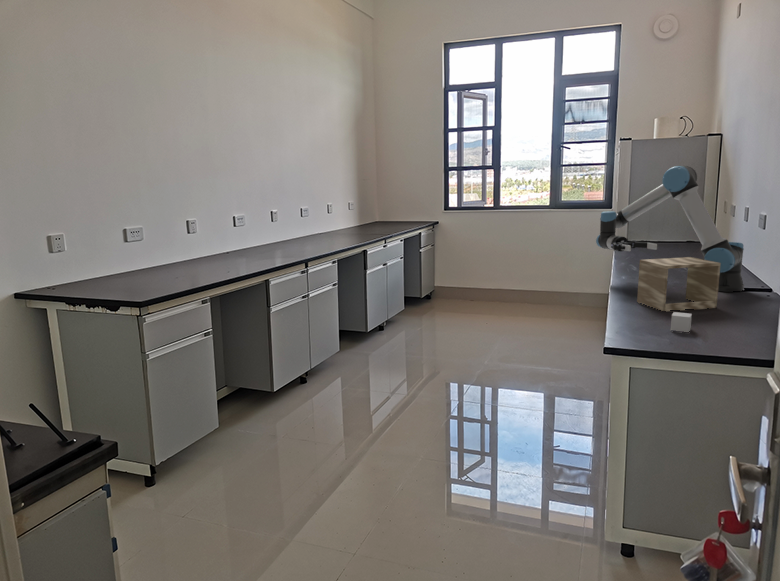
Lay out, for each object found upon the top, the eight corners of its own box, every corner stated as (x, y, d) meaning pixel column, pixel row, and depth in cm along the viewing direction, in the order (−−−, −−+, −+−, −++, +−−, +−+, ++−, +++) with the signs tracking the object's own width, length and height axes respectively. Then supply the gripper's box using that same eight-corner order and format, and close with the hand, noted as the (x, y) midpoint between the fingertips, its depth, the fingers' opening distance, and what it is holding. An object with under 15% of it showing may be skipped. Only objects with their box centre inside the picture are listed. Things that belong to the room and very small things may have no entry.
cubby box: (687, 299, 256) (690, 257, 252) (716, 307, 239) (720, 262, 235) (637, 302, 252) (639, 259, 248) (662, 311, 235) (666, 265, 231)
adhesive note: (688, 333, 203) (690, 317, 202) (670, 331, 206) (671, 315, 205) (690, 329, 208) (691, 313, 207) (672, 327, 211) (673, 311, 210)
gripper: (639, 249, 290) (666, 254, 270) (594, 252, 286) (618, 257, 266) (640, 234, 289) (667, 238, 268) (595, 237, 285) (619, 241, 264)
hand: (643, 247), depth 267 cm, fingers open, 13 cm apart
